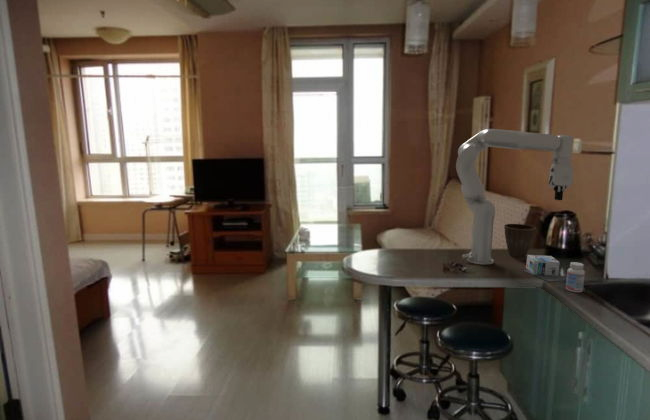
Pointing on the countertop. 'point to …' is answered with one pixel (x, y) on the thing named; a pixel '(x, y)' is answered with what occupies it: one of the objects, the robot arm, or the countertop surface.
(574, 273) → the pill bottle
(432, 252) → the countertop surface
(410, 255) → the countertop surface
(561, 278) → the mat
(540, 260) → the light bulb box
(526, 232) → the plant pot
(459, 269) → the countertop surface
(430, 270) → the countertop surface
